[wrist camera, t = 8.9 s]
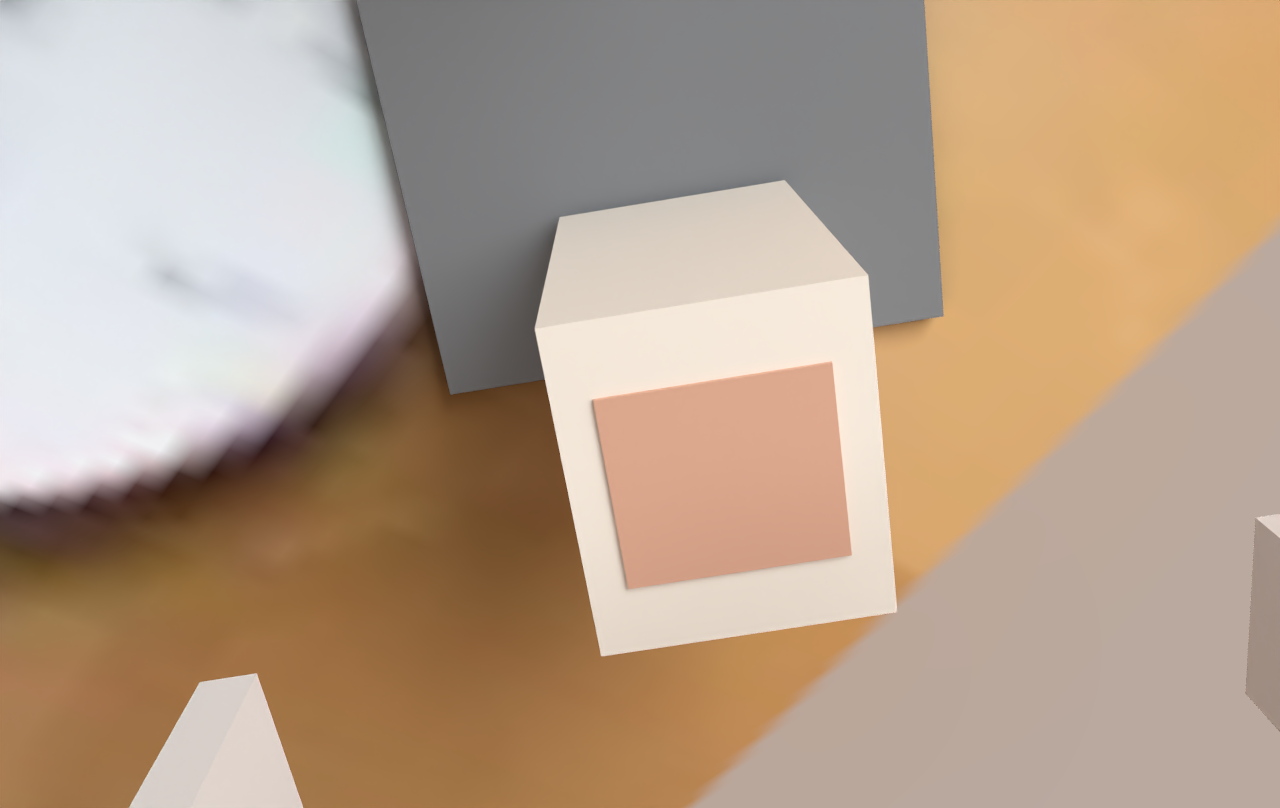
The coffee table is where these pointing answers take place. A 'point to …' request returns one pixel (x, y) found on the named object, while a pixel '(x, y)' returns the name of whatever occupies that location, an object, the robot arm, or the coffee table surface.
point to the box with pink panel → (716, 418)
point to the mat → (645, 139)
